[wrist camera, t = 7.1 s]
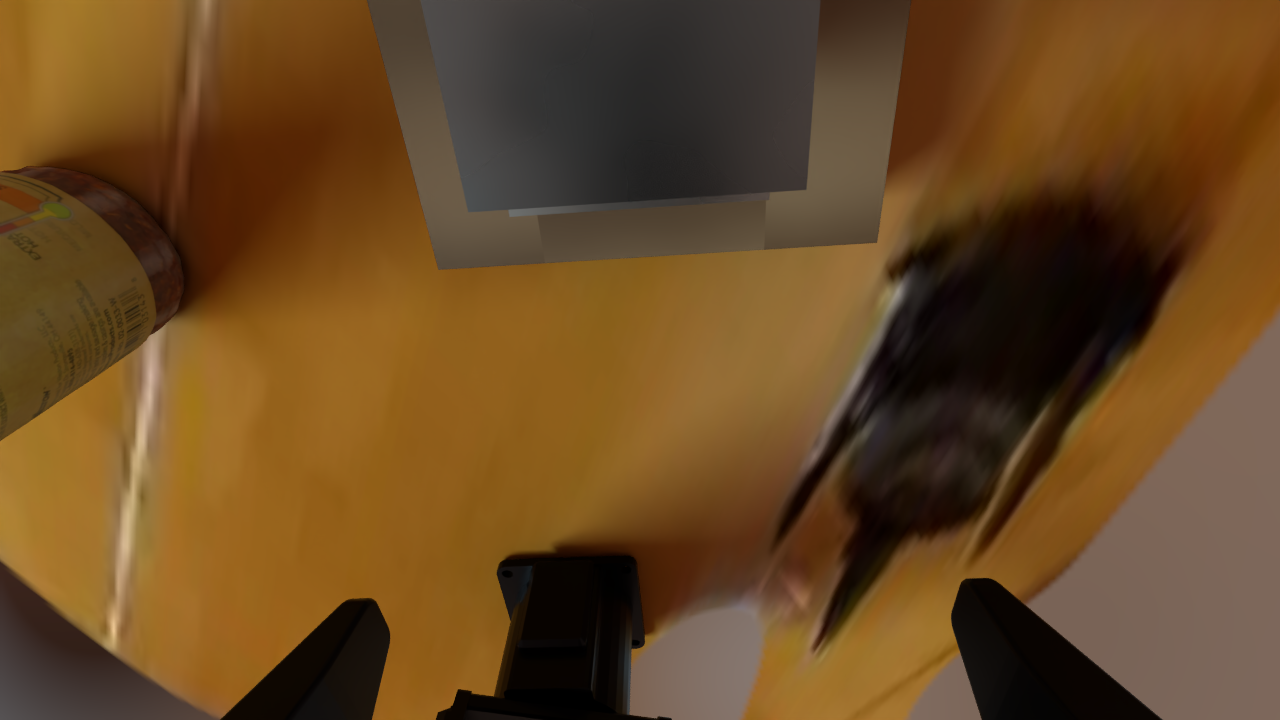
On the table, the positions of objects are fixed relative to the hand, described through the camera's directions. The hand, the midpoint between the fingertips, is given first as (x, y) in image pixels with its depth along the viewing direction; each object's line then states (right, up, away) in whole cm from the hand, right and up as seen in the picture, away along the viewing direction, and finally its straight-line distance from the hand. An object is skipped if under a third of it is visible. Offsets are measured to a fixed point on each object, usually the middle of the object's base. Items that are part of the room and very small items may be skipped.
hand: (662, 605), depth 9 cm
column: (0, +12, +4) cm, 12 cm away
